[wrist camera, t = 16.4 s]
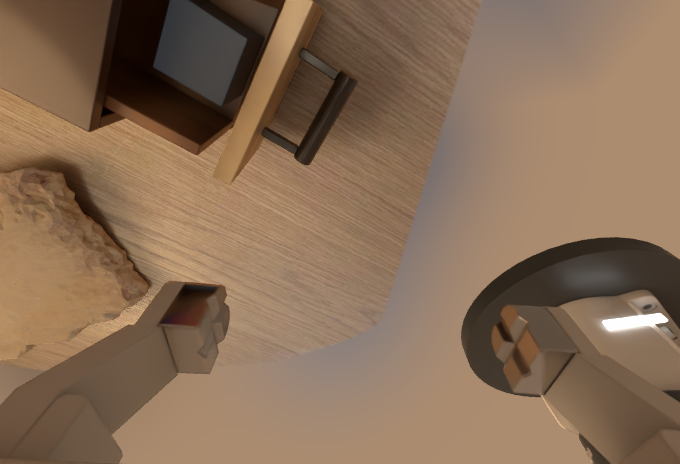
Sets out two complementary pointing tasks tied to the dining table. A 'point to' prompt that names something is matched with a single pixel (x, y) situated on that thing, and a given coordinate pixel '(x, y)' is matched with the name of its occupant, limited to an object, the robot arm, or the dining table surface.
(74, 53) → the cabinet
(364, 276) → the dining table surface
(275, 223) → the dining table surface
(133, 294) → the tablet
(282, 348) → the dining table surface
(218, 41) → the block
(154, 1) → the drawer
